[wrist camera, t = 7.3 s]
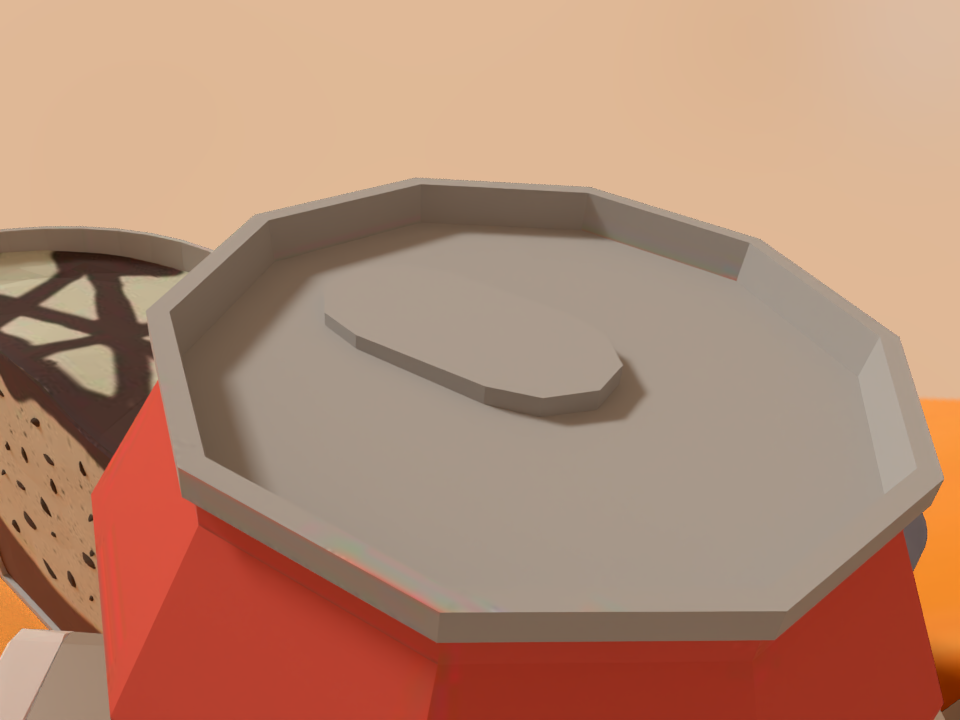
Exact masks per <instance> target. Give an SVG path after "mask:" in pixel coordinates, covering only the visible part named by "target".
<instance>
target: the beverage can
mask: <svg viewBox="0 0 960 720" xmlns="http://www.w3.org/2000/svg"><path fill="white" fill-rule="evenodd" d="M146 317H147V324H148V331H149V337H150V342H151V347H152V352H153V357H154V362H155V367H156V372H157V377H158V381H157V382H156V384H155V386H154V387H153V389H152V391H151V393H150V394H149V396H148V398H147V399H146V401H145V403H144V404H143V406H142V408H141V410H140V411H139V413H138V415H137V416H136V418H135V420H134V422H133V423H132V425H131V427H130V428H129V430H128V432H127V433H126V435H125V437H124V439H123V440H122V442H121V444H120V445H119V447H118V449H117V451H116V452H115V454H114V456H113V457H112V459H111V461H110V463H109V464H108V466H107V468H106V469H105V471H104V473H103V474H102V476H101V478H100V480H99V481H98V483H97V485H96V486H95V488H94V490H93V492H92V493H91V500H92V512H93V524H94V535H95V547H96V558H97V570H98V582H99V593H100V605H101V616H102V628H103V640H104V651H105V663H106V674H107V686H108V698H109V709H110V719H111V720H934V719H935V717H936V715H937V714H938V712H939V710H940V709H941V707H942V705H943V704H944V701H943V697H942V693H941V688H940V684H939V680H938V676H937V672H936V667H935V663H934V659H933V655H932V650H931V646H930V642H929V638H928V634H927V629H926V625H925V621H924V617H923V612H922V608H921V604H920V600H919V596H918V591H917V587H916V583H915V579H914V574H913V570H912V566H911V562H910V558H909V553H908V549H907V545H906V541H905V537H904V532H903V530H904V528H905V527H906V526H907V525H909V524H910V523H911V522H912V521H913V520H914V519H916V518H917V517H918V516H919V515H920V514H921V513H923V512H924V511H925V510H926V509H927V508H928V507H929V506H931V504H932V502H933V500H934V498H935V496H936V494H937V492H938V490H939V488H940V486H941V484H942V482H943V480H944V476H943V473H942V470H941V467H940V464H939V460H938V457H937V454H936V451H935V448H934V445H933V442H932V438H931V435H930V432H929V429H928V426H927V423H926V419H925V416H924V413H923V410H922V407H921V404H920V401H919V397H918V394H917V391H916V388H915V385H914V382H913V378H912V375H911V372H910V369H909V366H908V363H907V360H906V356H905V353H904V350H903V347H902V344H901V341H900V338H899V337H898V336H897V335H896V334H894V333H893V332H891V331H890V330H889V329H887V328H886V327H884V326H883V325H881V324H880V323H879V322H877V321H876V320H874V319H873V318H871V317H870V316H869V315H867V314H866V313H864V312H863V311H861V310H860V309H859V308H857V307H856V306H854V305H853V304H851V303H850V302H849V301H847V300H846V299H844V298H843V297H842V296H840V295H839V294H837V293H836V292H835V291H833V290H831V289H830V288H829V287H827V286H826V285H824V284H823V283H822V282H820V281H819V280H817V279H816V278H815V277H813V276H812V275H810V274H809V273H807V272H806V271H805V270H803V269H802V268H800V267H799V266H797V265H796V264H795V263H793V262H792V261H791V260H789V259H788V258H786V257H785V256H783V255H782V254H781V253H779V252H778V251H776V250H775V249H773V248H772V247H770V246H769V245H768V244H766V243H765V242H763V241H762V240H761V239H758V238H755V237H751V236H748V235H745V234H742V233H739V232H735V231H732V230H729V229H726V228H722V227H719V226H715V225H712V224H709V223H706V222H703V221H699V220H696V219H693V218H690V217H686V216H683V215H680V214H677V213H673V212H670V211H667V210H663V209H660V208H657V207H653V206H650V205H647V204H644V203H640V202H637V201H634V200H631V199H628V198H624V197H621V196H617V195H614V194H611V193H608V192H605V191H601V190H598V189H595V188H592V187H579V186H561V185H541V184H522V183H505V182H487V181H468V180H450V179H430V178H412V179H408V180H403V181H400V182H395V183H391V184H386V185H382V186H377V187H373V188H369V189H365V190H360V191H356V192H351V193H347V194H343V195H338V196H334V197H330V198H326V199H321V200H317V201H312V202H308V203H304V204H299V205H295V206H291V207H286V208H282V209H278V210H273V211H269V212H265V213H261V214H256V215H254V216H253V217H252V218H250V219H249V220H248V221H247V222H246V223H245V224H244V225H242V226H241V227H240V228H239V229H238V230H237V231H236V232H235V233H233V234H232V235H231V236H230V237H229V238H228V239H227V240H225V241H224V242H223V243H222V244H221V245H220V246H219V247H217V248H216V249H215V250H214V251H213V252H212V253H211V254H210V255H208V256H207V257H206V258H205V259H204V260H203V261H202V262H200V263H199V264H198V265H197V266H196V267H195V268H194V269H193V270H191V271H190V272H189V273H188V274H187V275H186V276H185V277H183V278H182V279H181V280H180V281H179V282H178V283H177V284H176V285H174V286H173V287H172V288H171V289H170V290H169V291H168V292H166V293H165V294H164V295H163V296H162V297H161V298H160V299H159V300H157V301H156V302H155V303H154V304H153V305H152V306H151V307H149V308H148V309H147V310H146Z"/></svg>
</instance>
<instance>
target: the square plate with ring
mask: <svg viewBox="0 0 960 720" xmlns="http://www.w3.org/2000/svg"><path fill="white" fill-rule="evenodd" d="M942 714H943V716H944V718H945V720H960V699H959V700H958V701H956V702H955V703H953V704H952V705H951V706H949V707H948V708H947V709H945V710H944V711H943V712H942Z"/></svg>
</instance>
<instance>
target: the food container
mask: <svg viewBox="0 0 960 720" xmlns="http://www.w3.org/2000/svg"><path fill="white" fill-rule="evenodd" d="M213 251H214V250H211V249H209V248H206V247H202V246H199V245H196V244H193V243H190V242H187V241H184V240H180V239H175V238H171V237H166V236H162V235H158V234H153V233H147V232H139V231H132V230H124V229H116V228H100V227H84V226H83V227H82V226H70V227H69V226H57V227H56V226H55V227H54V226H53V227H52V226H49V227H48V226H46V227H29V228H13V229H1V230H0V576H1V578H2V579H3V580H4V581H5V583H6V584H7V585H8V586H9V587H10V588H11V589H12V590H13V591H14V592H15V593H16V594H17V596H18V597H19V598H20V599H21V600H22V601H23V602H24V603H25V604H26V605H27V606H28V607H29V608H30V610H31V611H32V612H33V613H34V614H35V615H36V616H37V617H38V618H39V619H40V620H41V621H42V623H43V624H44V625H45V626H46V627H47V628H48V629H49V630H57V631H74V632H85V633H98V634H103V628H102V616H101V605H100V593H99V582H98V570H97V558H96V547H95V535H94V524H93V512H92V500H91V493H92V492H93V490H94V488H95V486H96V485H97V483H98V481H99V480H100V478H101V476H102V474H103V473H104V471H105V469H106V468H107V466H108V464H109V463H110V461H111V459H112V457H113V456H114V454H115V452H116V451H117V449H118V447H119V445H120V444H121V442H122V440H123V439H124V437H125V435H126V433H127V432H128V430H129V428H130V427H131V425H132V423H133V422H134V420H135V418H136V416H137V415H138V413H139V411H140V410H141V408H142V406H143V404H144V403H145V401H146V399H147V398H148V396H149V394H150V393H151V391H152V389H153V387H154V386H155V384H156V382H157V381H158V377H157V372H156V367H155V362H154V357H153V352H152V347H151V342H150V337H149V331H148V324H147V317H146V310H147V309H148V308H149V307H151V306H152V305H153V304H154V303H155V302H156V301H157V300H159V299H160V298H161V297H162V296H163V295H164V294H165V293H166V292H168V291H169V290H170V289H171V288H172V287H173V286H174V285H176V284H177V283H178V282H179V281H180V280H181V279H182V278H183V277H185V276H186V275H187V274H188V273H189V272H190V271H191V270H193V269H194V268H195V267H196V266H197V265H198V264H199V263H200V262H202V261H203V260H204V259H205V258H206V257H207V256H208V255H210V254H211V253H212V252H213Z"/></svg>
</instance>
